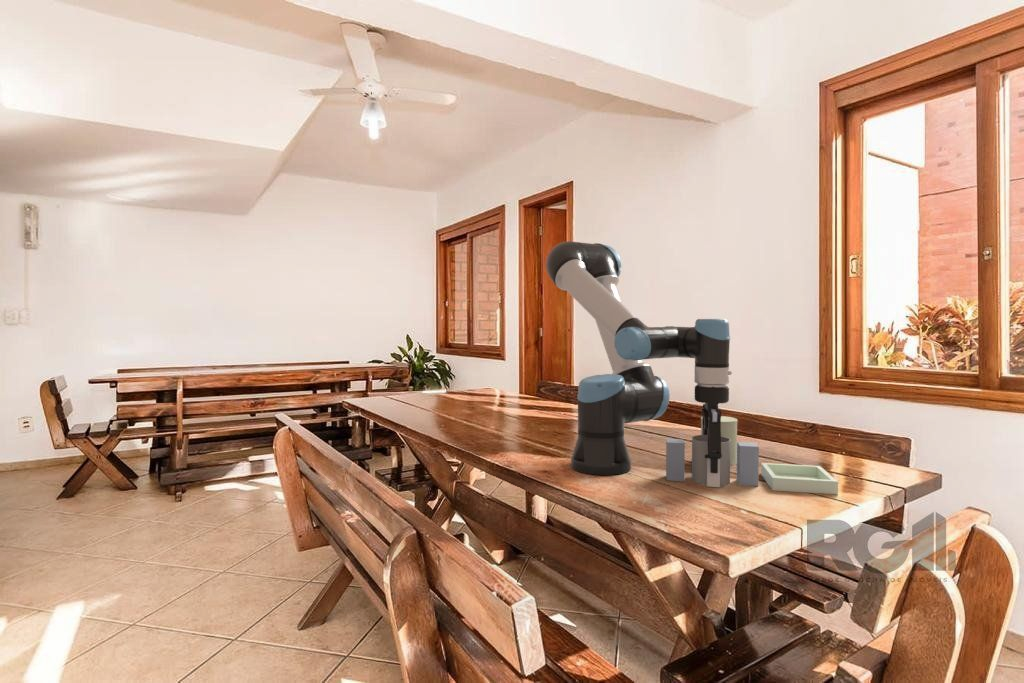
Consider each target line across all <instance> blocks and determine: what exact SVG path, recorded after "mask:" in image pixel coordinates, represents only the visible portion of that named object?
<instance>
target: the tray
mask: <svg viewBox="0 0 1024 683" xmlns="http://www.w3.org/2000/svg"><path fill="white" fill-rule="evenodd" d="M760 475H761V477H762V478H763V479H764V481H766V483H767V485H768V486H769V488H770V489H771V490H772V491H776V492H777V491H778V492H779V491H780V492H781V491H782V492H792V493H796V492H797V493H811V494H825V495H839V481H838V480H837V479H836V478H835V477H834V476H832V474H830V473H829V472H828V471H826V470H825V469H824V467H822V466H821V465H810V464H808V465H807V464H792V463H791V464H790V463H789V464H788V463H773V462H761V463H760Z"/></svg>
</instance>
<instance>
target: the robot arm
mask: <svg viewBox="0 0 1024 683" xmlns="http://www.w3.org/2000/svg"><path fill="white" fill-rule="evenodd" d="M545 268H546V273H547V274H548V277H549V279H550V280H551V282H553V284H554V285H555V286H556V287H557V288H558V289H559V290H561V291H567V293H568V294H569V295H570V296H571V297H572V298H573V299H574V300H575V301H576V302H577V303H578V304H579V305H580V306H581V307H582V308H583V309H584V310H585V311H586V312H587V313H589V315H590V316H591V317H592V318H593V319H594V320H595V322H596V325H597V329H598V331H599V335H600V338H601V340H602V343H603V347H604V350H605V353H606V355H607V359H608V362H609V364H610V367H611V370H612V373H606V374H595V375H591V376H587V377H584V378H582V379H581V380H580V382H578V386H577V387H578V388H577V390H578V391H577V395H576V397H577V438H576V442H575V445H574V447H573V451H572V455H571V456H570V457H571V458H570V460H571V461H570V467H571V469H573V470H574V471H576V472H579V473H583V474H588V475H597V476H613V475H614V476H615V475H621V474H626V473H628V472H629V471H631V469H632V459H631V456H630V453H629V449H628V447H627V444H626V441H625V440H626V439H625V425H626V424H631V423H639V422H649V421H651V420H654V419H658V418H660V417H662V415H664V413H665V412H666V411H667V408H668V405H669V403H670V395H671V394H670V388H669V387H668V384H667V382H666V381H665V380H664V379H663V378H661V377H659V376H657V375H655V374H654V372H653V369H652V366H651V365H650V364H649V363H646V362H644V361H643V360H651V359H670V358H687V359H688V358H689V359H694V383H696V385H695V386H694V401H695V402H698V403H700V404H701V403H702V408H701V417H702V423H703V428H702V435H707V441H708V455H705V458H707V486H706V487H708V488H709V487H710V488H720V487H721V486H720V458H721V457H722V454H721V416H722V411H721V410H720V408H719V404H726V403H728V402H729V401H730V388H729V386H728V384H730V383H729V382H730V380H729V379H730V378H729V376H731V375H732V374H733V373H732V370H730V364H729V362H730V361H729V360H730V341H731V336H730V323H729V321H728V320H727V319H726V318H697V319H695V323H694V324H695V325H694V326H673V325H671V326H660V327H658V326H652V327H651V326H647V325H646V324H645V323H644V322H643V321H642V320H640V319H639V318H638V317H637V316H636V315H635V314H634V313H632V311H631V310H630V309H628V308H627V307H626V305H624V304H623V302H622V300H621V297H620V295H619V292H618V289H617V285H618V284H619V282H620V279H619V277H620V275H621V272H622V271H621V268H622V261H621V257H620V255H619V253H618V252H617V251H616V249H614V248H613V247H612V246H609V245H607V244H602V243H598V242H597V243H589V242H580V241H579V242H577V241H563V242H560V243H558V244H556V245H555V246H553V247H552V248H551V250H550V251H549V253H548V254H547V257H546V261H545ZM712 451H717V452H712Z"/></svg>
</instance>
